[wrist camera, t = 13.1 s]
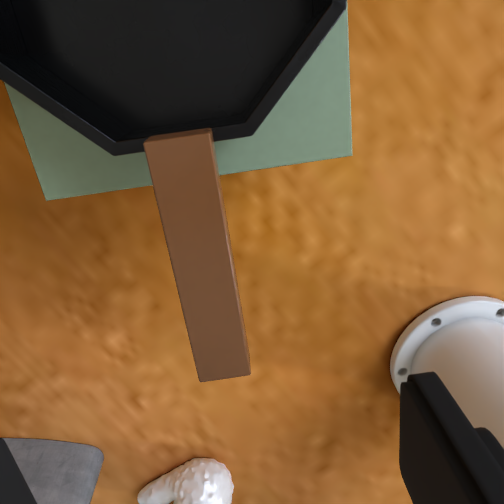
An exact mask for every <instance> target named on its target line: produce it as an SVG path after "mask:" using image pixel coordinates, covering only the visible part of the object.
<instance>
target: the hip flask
mask: <svg viewBox="0 0 504 504" xmlns="http://www.w3.org/2000/svg"><path fill="white" fill-rule="evenodd" d="M2 439H4V440H5V442H6V444H7V446H8V448H9V450H10V451H11V453H12V455H13V457H14V459H15V461H16V463H17V465H18V467H19V469H20V471H21V473H22V475H23V477H24V479H25V481H26V483H27V484H28V486H29V488H30V490H31V492H32V494H33V496H34V498H35V500H36V502H37V504H90V502H91V499H92V495H93V492H94V489H95V486H96V483H97V479H98V476H99V473H100V470H101V467H102V463H103V460H104V455H103V453H102V452H101V451H100V450H99V449H98V448H96V447H94V446H90V445H85V444H79V443H71V442H64V441H54V440H43V439H24V438H2Z"/></svg>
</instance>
